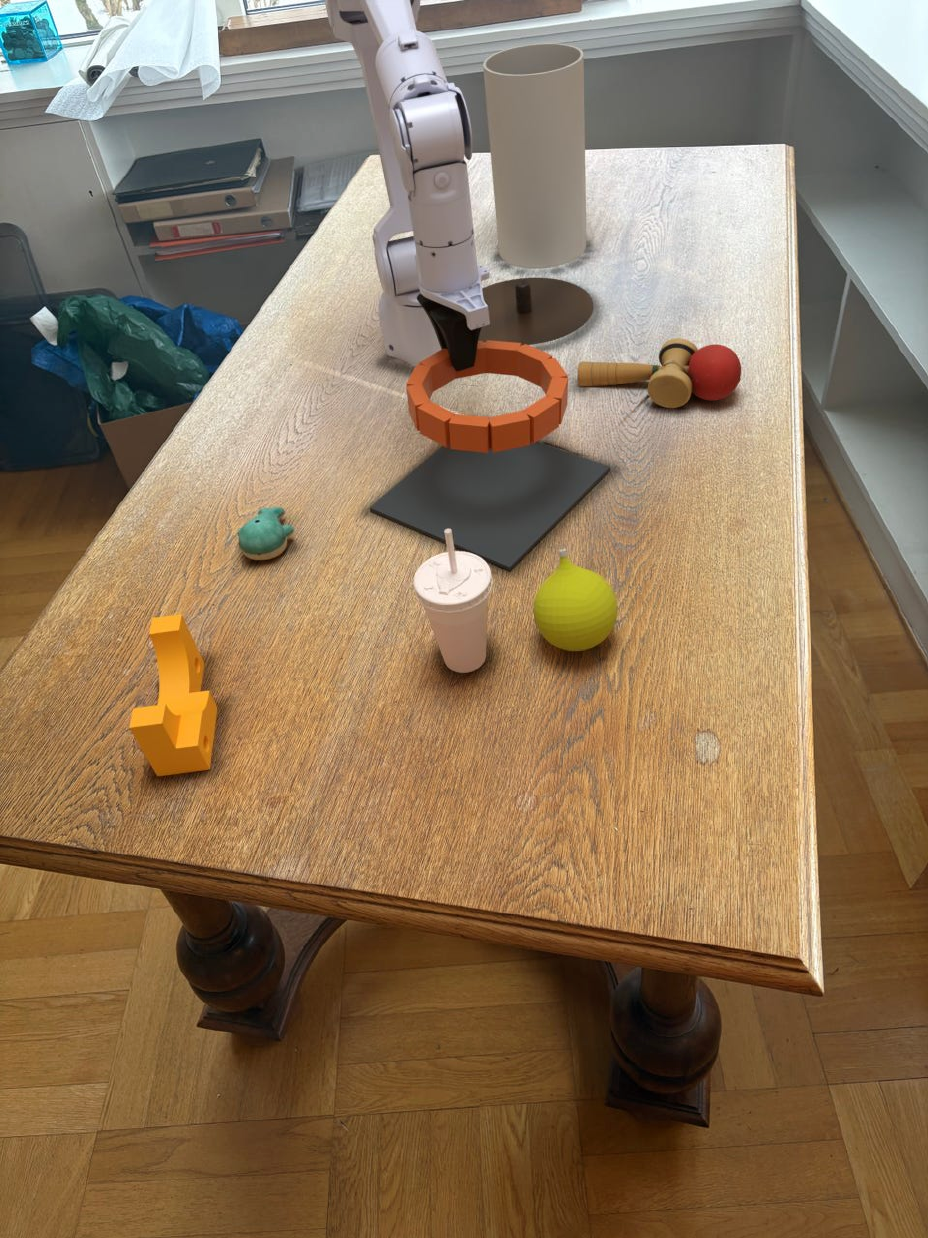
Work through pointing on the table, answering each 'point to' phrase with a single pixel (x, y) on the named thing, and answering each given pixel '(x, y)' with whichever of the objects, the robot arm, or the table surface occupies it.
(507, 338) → the round disc
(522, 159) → the cylinder vase
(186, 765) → the pipe clamp
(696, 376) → the kendama
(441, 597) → the smoothie
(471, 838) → the table surface
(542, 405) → the ring
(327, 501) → the table surface
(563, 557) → the ornament
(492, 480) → the mat
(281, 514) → the whale figurine
